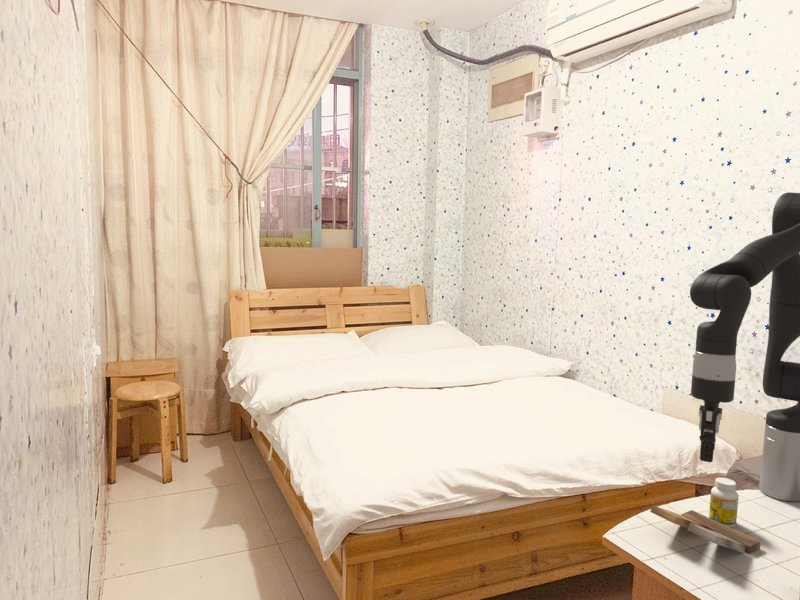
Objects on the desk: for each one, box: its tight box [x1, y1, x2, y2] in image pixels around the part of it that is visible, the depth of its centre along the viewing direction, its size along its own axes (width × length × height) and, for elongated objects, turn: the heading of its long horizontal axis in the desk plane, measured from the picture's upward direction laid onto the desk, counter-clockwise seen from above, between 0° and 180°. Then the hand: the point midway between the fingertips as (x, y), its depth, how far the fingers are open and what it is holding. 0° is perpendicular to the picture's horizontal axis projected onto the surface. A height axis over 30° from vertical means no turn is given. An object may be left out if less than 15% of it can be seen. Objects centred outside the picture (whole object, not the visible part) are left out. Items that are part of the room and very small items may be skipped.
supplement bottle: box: [708, 477, 739, 528], centre depth 129 cm, size 5×5×10 cm
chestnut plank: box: [650, 504, 706, 529], centre depth 123 cm, size 12×6×2 cm, turn 120°
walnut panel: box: [680, 509, 761, 555], centre depth 124 cm, size 4×15×2 cm, turn 30°
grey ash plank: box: [687, 523, 746, 554], centre depth 116 cm, size 12×6×2 cm, turn 120°
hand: (707, 455), depth 116 cm, fingers open, 8 cm apart
